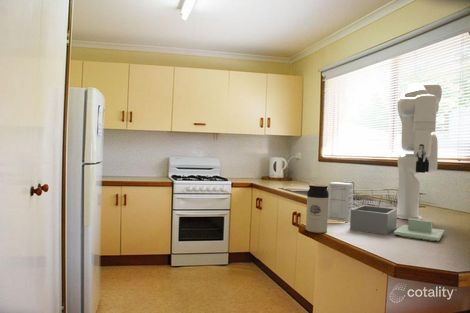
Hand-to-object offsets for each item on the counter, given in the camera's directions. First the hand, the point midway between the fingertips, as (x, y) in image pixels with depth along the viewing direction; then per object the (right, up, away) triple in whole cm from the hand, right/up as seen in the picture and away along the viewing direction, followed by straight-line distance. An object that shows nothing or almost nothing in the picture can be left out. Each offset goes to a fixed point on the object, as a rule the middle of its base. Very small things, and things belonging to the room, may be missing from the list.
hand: (422, 172), depth 145 cm
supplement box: (-24, -23, +29) cm, 44 cm away
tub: (-15, -24, +9) cm, 30 cm away
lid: (-1, -25, 0) cm, 25 cm away
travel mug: (-41, -23, 0) cm, 47 cm away
